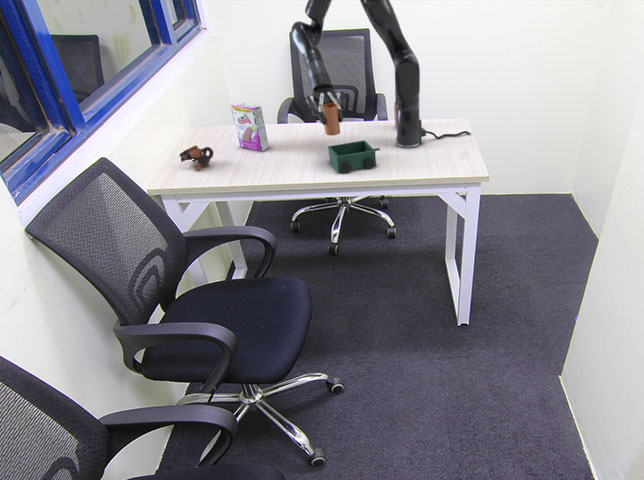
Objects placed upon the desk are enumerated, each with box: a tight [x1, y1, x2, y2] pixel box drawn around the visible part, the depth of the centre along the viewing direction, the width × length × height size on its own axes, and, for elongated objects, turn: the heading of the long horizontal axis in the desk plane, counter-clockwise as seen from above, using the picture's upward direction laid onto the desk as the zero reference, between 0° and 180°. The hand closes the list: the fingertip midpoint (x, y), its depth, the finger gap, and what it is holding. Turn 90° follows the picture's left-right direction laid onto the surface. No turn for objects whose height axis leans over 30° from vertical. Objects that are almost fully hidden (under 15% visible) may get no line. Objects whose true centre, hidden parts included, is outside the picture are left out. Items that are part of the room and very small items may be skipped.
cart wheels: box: [340, 147, 381, 174], centre depth 192 cm, size 18×14×4 cm
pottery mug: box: [179, 145, 215, 172], centre depth 191 cm, size 12×10×8 cm
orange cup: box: [322, 103, 341, 136], centre depth 182 cm, size 5×5×10 cm
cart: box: [327, 139, 377, 174], centre depth 190 cm, size 15×12×6 cm
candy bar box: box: [230, 102, 270, 152], centre depth 200 cm, size 11×5×16 cm, turn 65°
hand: (332, 122), depth 181 cm, fingers closed on orange cup, 5 cm apart
